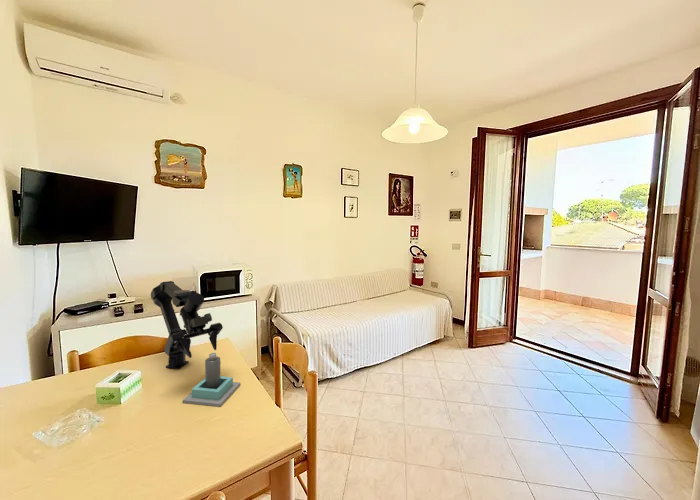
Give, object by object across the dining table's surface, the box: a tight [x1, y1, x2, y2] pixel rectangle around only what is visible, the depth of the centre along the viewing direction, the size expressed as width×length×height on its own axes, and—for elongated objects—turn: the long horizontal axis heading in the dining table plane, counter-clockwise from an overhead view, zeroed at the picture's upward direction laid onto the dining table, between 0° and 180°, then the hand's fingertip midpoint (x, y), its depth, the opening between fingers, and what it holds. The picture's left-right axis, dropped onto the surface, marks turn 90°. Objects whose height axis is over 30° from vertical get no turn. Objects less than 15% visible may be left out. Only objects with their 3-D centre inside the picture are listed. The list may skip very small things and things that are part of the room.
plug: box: [204, 352, 221, 389], centre depth 107 cm, size 5×5×14 cm
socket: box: [182, 375, 241, 408], centre depth 108 cm, size 14×14×4 cm
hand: (203, 353), depth 111 cm, fingers open, 9 cm apart
